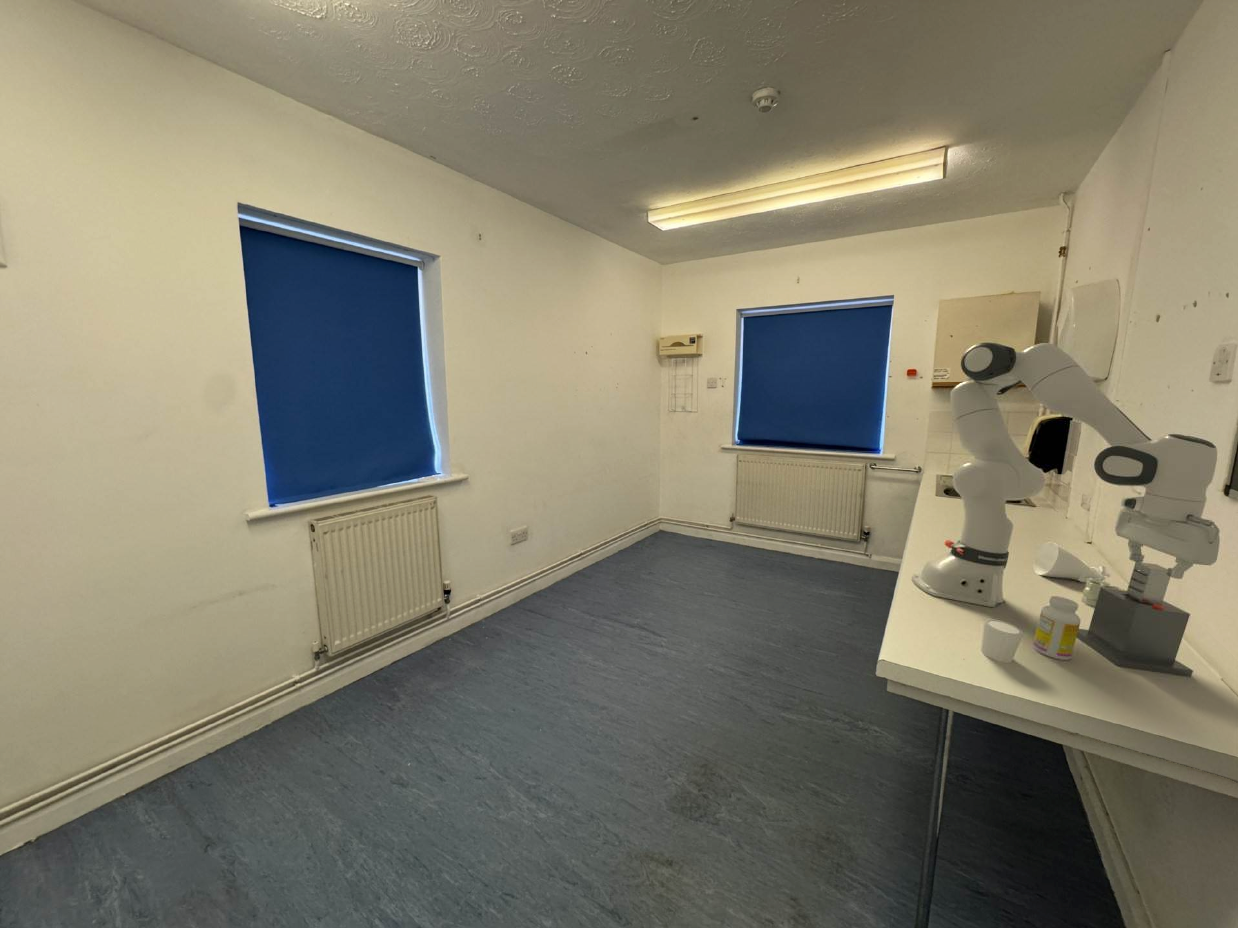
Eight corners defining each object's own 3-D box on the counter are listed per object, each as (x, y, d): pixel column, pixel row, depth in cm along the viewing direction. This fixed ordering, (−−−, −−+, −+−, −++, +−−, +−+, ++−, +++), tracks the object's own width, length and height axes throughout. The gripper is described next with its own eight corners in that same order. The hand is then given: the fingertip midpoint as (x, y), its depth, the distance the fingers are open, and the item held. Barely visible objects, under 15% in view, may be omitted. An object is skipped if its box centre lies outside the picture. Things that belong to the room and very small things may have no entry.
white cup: (978, 642, 112) (985, 615, 111) (1016, 655, 108) (1023, 626, 107) (976, 654, 107) (983, 626, 106) (1015, 668, 103) (1023, 638, 102)
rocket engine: (1122, 557, 152) (1057, 535, 157) (1127, 589, 146) (1058, 565, 150) (1094, 572, 161) (1033, 551, 166) (1097, 603, 155) (1033, 580, 160)
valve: (1079, 604, 138) (1140, 622, 129) (1085, 583, 136) (1147, 599, 128) (1080, 598, 142) (1139, 614, 134) (1086, 577, 141) (1145, 592, 133)
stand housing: (1117, 666, 107) (1135, 607, 104) (1070, 633, 120) (1085, 580, 117) (1191, 676, 105) (1211, 617, 102) (1134, 641, 118) (1151, 588, 115)
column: (1124, 650, 110) (1149, 568, 106) (1109, 640, 114) (1133, 561, 111) (1147, 653, 110) (1173, 571, 106) (1131, 643, 114) (1155, 563, 110)
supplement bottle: (1071, 654, 110) (1086, 602, 108) (1069, 664, 106) (1084, 611, 103) (1033, 641, 115) (1047, 591, 113) (1029, 650, 111) (1043, 599, 108)
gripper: (1239, 525, 95) (1218, 590, 97) (1146, 500, 115) (1131, 554, 117) (1202, 521, 96) (1182, 586, 98) (1116, 497, 116) (1101, 551, 118)
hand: (1154, 568), depth 108 cm, fingers open, 8 cm apart
